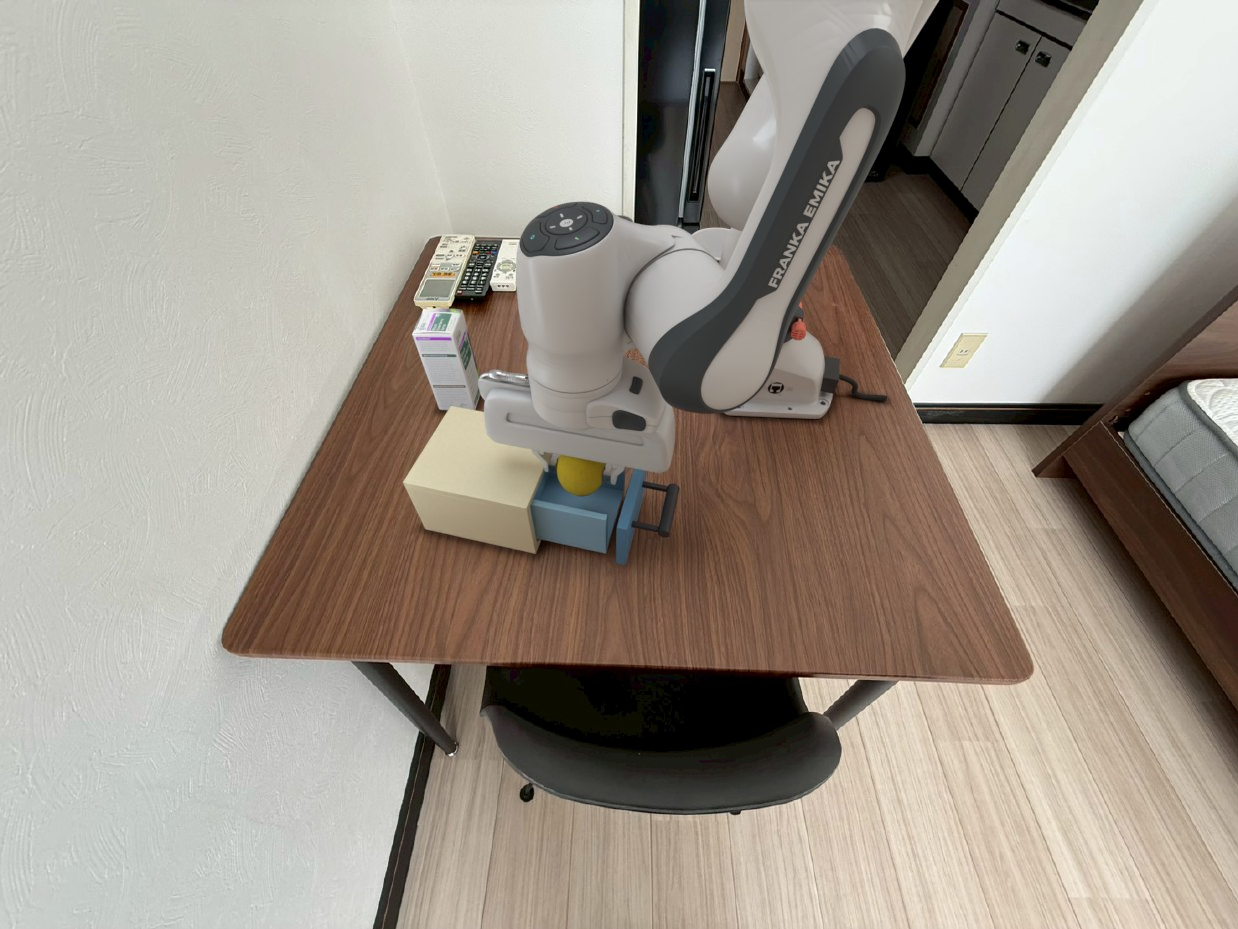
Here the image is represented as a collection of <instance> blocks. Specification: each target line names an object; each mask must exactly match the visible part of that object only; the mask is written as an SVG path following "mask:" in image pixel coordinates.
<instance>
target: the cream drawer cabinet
mask: <svg viewBox="0 0 1238 929" xmlns="http://www.w3.org/2000/svg"><path fill="white" fill-rule="evenodd" d="M436 427H437V428H436V429H435V431H433V434H432V435H431V437H430V439H429V440H428V442H426V445H425V446H424V448H423V449H422V450H421V451H422V452H421V453H420V454H419V456H418V457H417V458H416V461H415V462H414V464H413V466H411V468H410V470H409V472H408V473H407V474H406V476H405V478H404V479H403V481H402V484H403V486H404V488H405V490H406V492H407V494H408V496H409V498H410V500H411V503H412V505H413V506H414V509H415V511H416V514H417V515H418V517H419V520H420V521H421V523H422V525H423V528H424V529H425V530H427V531H431V532H435V533H440V534H445V535H450V536H454V537H458V538H462V539H467V540H471V541H477V542H481V543H486V544H490V545H494V546H499V547H503V548H508V549H511V550H516V551H521V552H526V553H530V554H534V555H536V554H537V552H538V549H539V546H540V545H541V541H542V540H541V539H537V538H536V535H535V530H534V525H533V520H532V515H531V510H530V505H531V503H532V501H533V498H534V496H535V494H536V491H537V489H538V486H539V484H540V482H541V479H542V477H543V475H544V472H545V471H544V464H543V463H542V462H541V461H540V460H539V459H538V458H537V457H536V456H535V455H534V454H533V453H532V450H531V449H526V448H521V447H515V446H510V445H504V444H499V443H495V442H494V441H493V440H492V439H491V438H489V437H488V435H487V433H486V428H485V420H484V411H481V410H477V409H476V410H471V409H465V408H460V407H455V406H451V407H450V408H449V410H446V413H445V415H444V416H443V417H442V419H441V420H440V422H439V424H438V426H436Z"/></svg>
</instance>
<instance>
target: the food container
mask: <svg viewBox="0 0 1238 929" xmlns="http://www.w3.org/2000/svg"><path fill="white" fill-rule="evenodd" d="M730 229H731V228H726V227H707V228H702V229H699V230H697V231H695V232H693V233H691V235H692V236H694V237H695V238H696V239H697V240H698V241H699V242H700V243H701V244H702V245H703V246H704V247H705V248H706V249H707V250H708V252H709V253H710V254H711V255H712V256H713V257H714V258H715V259H716V260H717V262H718V263H719V265H720V260H721V254H722V248H723V244H724V241H725V239H726V236H727V234H728V232H729V231H730Z"/></svg>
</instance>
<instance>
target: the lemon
mask: <svg viewBox="0 0 1238 929" xmlns="http://www.w3.org/2000/svg"><path fill="white" fill-rule="evenodd" d="M604 470H605V463H601V462H596V461H591V460H585V459H580V458H575V457H569V456H564V455H560V456H559V458H558V463H557V475H558V479H559V482H560V483H561V485H562V487H563V488H564V489H565V490H566V491H567V492H569V493H570V494H572V495H575V496H588V495H591V494H592V493H594V492H596V491H597V490H598V489H599V488H600V486H601V484H602V483H603V481H602V480H603V478H602V474H603V471H604Z"/></svg>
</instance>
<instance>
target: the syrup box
mask: <svg viewBox="0 0 1238 929" xmlns="http://www.w3.org/2000/svg"><path fill="white" fill-rule="evenodd" d="M411 335H412V338H413V341H414V343H415V344H414V345H415V347H416V349H417V352H418V355H419V358H420V360H421V363H422V367H423V369H424V372H425V375H426V378H427V380H428V382H429V385H430V388H431V391H432V393H433V394H432V395H433V397H434V399H435V402H436V404H437V405H436V406H437V408H438V409H439V410H440V411H448V410H449V408H450V407H451V406H455V407H460V408H465V409H471V410H476V411H477V406H478V404H479V400H480V397H481V394H480V391H479V387H478V378H479V376H480V375H481V374H480V371H479V368H478V364H477V360H476V356H475V353H474V352H475V351H474V348H473V345H472V341H471V337H470V333H469V330H468V325H467V322H466V318H465V314H464V311H463V310H462V309H459V308H447V307H443V308H442V307H440V308H439V307H438V308H437V307H435V308H423V309H422V311H421V314H420V316H419V318H418V320H417V321H416V324H415V326H414V328H413V331H412V333H411Z"/></svg>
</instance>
